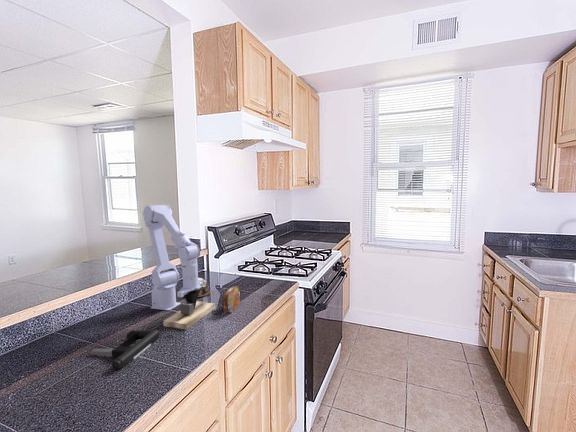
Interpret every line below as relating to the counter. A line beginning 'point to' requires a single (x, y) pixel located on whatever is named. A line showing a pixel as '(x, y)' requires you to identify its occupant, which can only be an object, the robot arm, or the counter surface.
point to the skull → (203, 288)
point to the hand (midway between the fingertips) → (191, 308)
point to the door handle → (128, 347)
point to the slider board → (189, 316)
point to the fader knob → (187, 308)
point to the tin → (231, 299)
